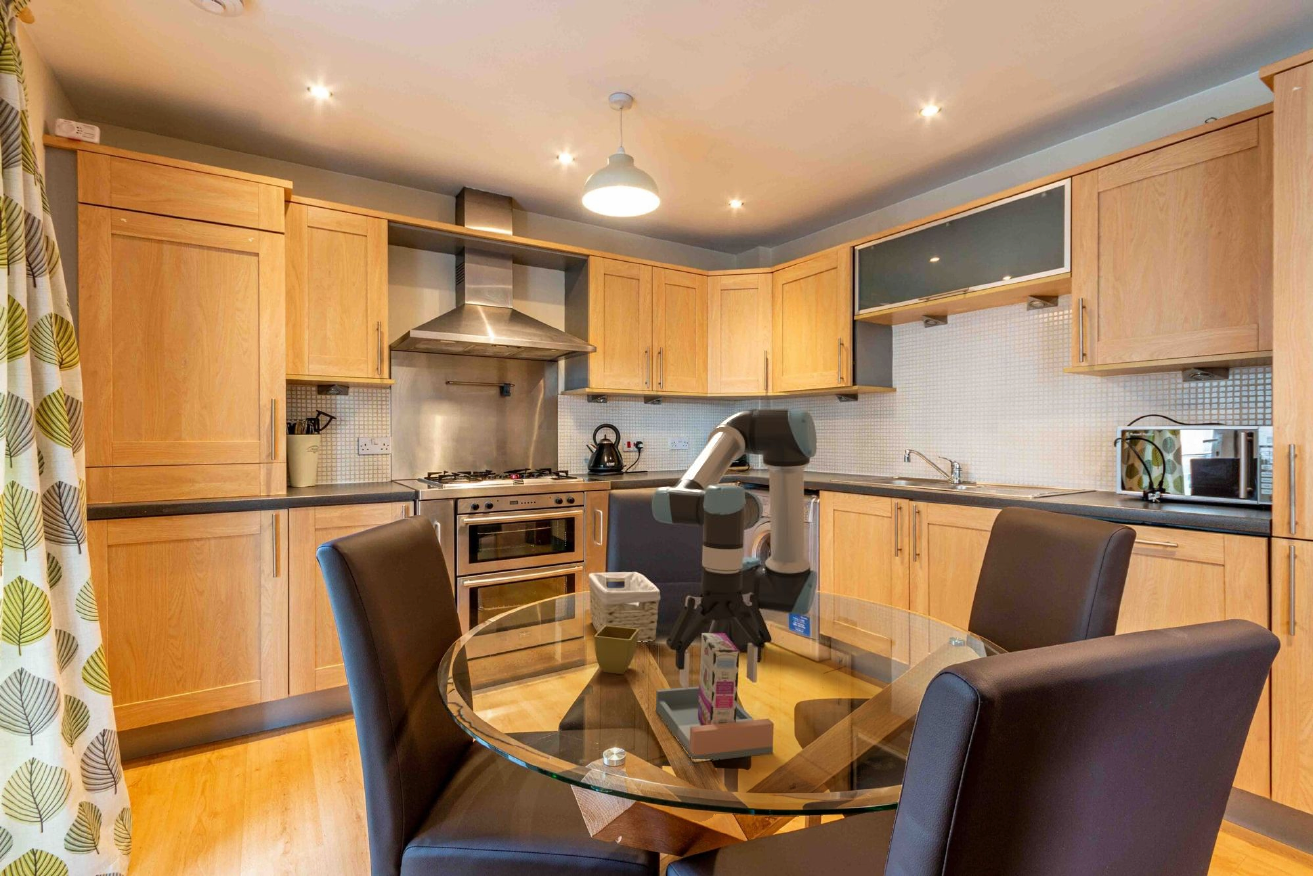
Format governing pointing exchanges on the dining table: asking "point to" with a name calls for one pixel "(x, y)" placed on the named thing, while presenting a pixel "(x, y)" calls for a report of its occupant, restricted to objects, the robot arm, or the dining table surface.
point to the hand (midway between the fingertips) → (718, 683)
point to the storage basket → (624, 603)
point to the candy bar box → (718, 679)
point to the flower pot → (615, 648)
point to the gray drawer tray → (712, 728)
